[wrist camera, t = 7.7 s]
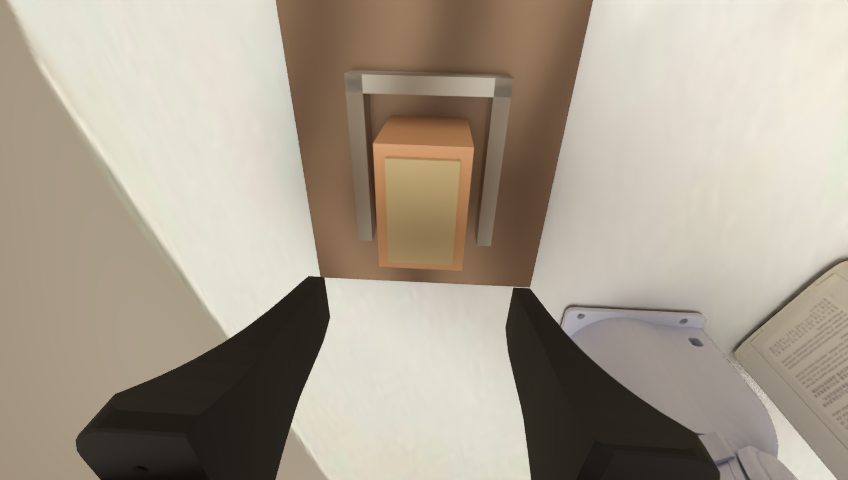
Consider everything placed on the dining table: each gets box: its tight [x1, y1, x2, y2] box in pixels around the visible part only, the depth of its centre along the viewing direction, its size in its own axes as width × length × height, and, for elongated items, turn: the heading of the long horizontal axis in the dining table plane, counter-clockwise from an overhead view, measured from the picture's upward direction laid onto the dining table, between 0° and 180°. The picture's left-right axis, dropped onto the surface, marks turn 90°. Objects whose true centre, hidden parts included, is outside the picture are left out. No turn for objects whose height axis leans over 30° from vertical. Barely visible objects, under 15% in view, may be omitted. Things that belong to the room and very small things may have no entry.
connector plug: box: [373, 115, 474, 271], centre depth 18 cm, size 4×6×5 cm, turn 179°
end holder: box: [276, 0, 593, 287], centre depth 20 cm, size 14×16×2 cm
